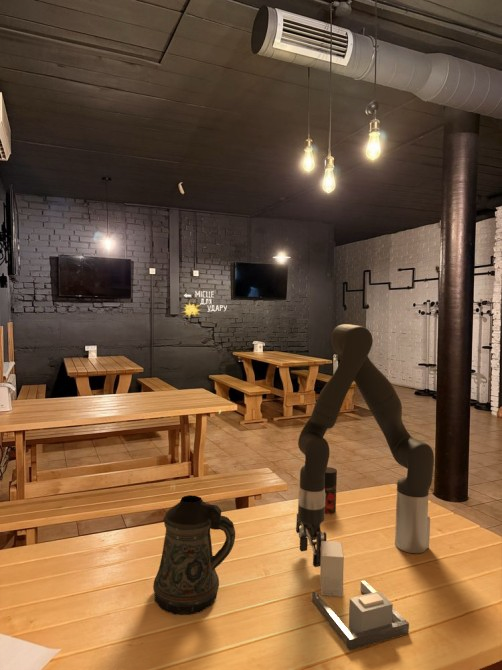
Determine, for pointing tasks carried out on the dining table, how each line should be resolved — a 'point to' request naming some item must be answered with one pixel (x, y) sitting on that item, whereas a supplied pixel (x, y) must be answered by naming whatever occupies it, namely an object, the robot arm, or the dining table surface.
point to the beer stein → (191, 557)
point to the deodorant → (330, 490)
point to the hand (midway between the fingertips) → (310, 558)
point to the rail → (365, 637)
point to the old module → (369, 612)
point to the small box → (331, 568)
